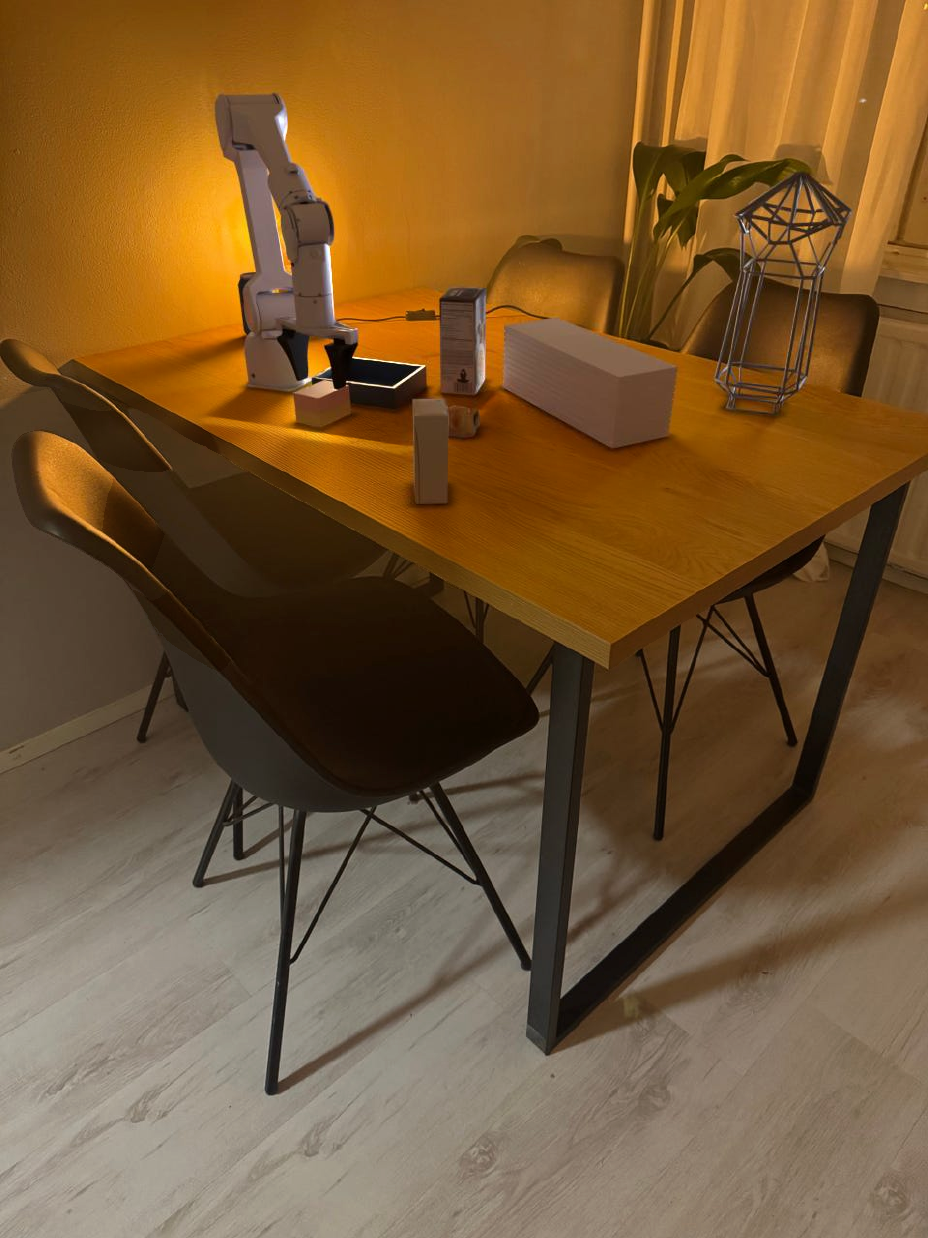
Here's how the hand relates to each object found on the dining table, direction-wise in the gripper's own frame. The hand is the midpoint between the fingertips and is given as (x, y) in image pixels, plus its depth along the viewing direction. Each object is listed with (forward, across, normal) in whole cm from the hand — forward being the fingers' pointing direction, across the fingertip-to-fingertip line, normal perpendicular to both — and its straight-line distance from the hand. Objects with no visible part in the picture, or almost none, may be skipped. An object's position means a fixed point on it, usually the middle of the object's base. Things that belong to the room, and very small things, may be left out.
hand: (320, 383), depth 136 cm
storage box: (+6, +1, -14) cm, 15 cm away
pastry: (+6, -20, -7) cm, 22 cm away
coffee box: (+6, -10, -25) cm, 28 cm away
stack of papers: (+6, -33, -26) cm, 42 cm away
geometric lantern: (+6, -57, -44) cm, 72 cm away
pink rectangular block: (+6, 0, 0) cm, 6 cm away
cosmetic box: (+6, -30, +14) cm, 34 cm away
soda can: (+6, +43, -32) cm, 53 cm away
